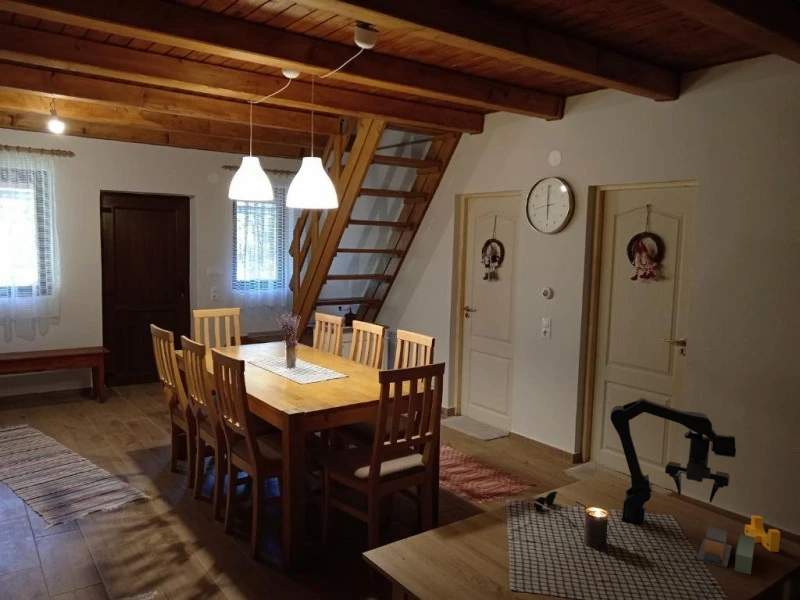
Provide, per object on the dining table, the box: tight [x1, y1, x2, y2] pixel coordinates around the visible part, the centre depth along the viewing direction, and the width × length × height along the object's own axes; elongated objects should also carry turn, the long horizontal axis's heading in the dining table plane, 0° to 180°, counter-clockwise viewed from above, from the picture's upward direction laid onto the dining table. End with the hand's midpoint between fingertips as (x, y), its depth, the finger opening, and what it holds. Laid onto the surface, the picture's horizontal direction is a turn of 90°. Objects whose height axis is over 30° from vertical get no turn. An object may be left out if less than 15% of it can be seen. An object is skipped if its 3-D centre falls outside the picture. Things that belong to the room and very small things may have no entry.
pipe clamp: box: [743, 515, 781, 553], centre depth 197 cm, size 12×4×6 cm, turn 178°
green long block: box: [734, 533, 756, 576], centre depth 184 cm, size 4×16×5 cm, turn 147°
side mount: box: [696, 537, 733, 569], centre depth 188 cm, size 8×16×3 cm, turn 147°
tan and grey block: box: [704, 526, 728, 560], centre depth 188 cm, size 5×9×6 cm, turn 148°
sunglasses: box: [533, 490, 588, 528], centre depth 212 cm, size 14×16×5 cm
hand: (694, 498), depth 203 cm, fingers open, 9 cm apart
